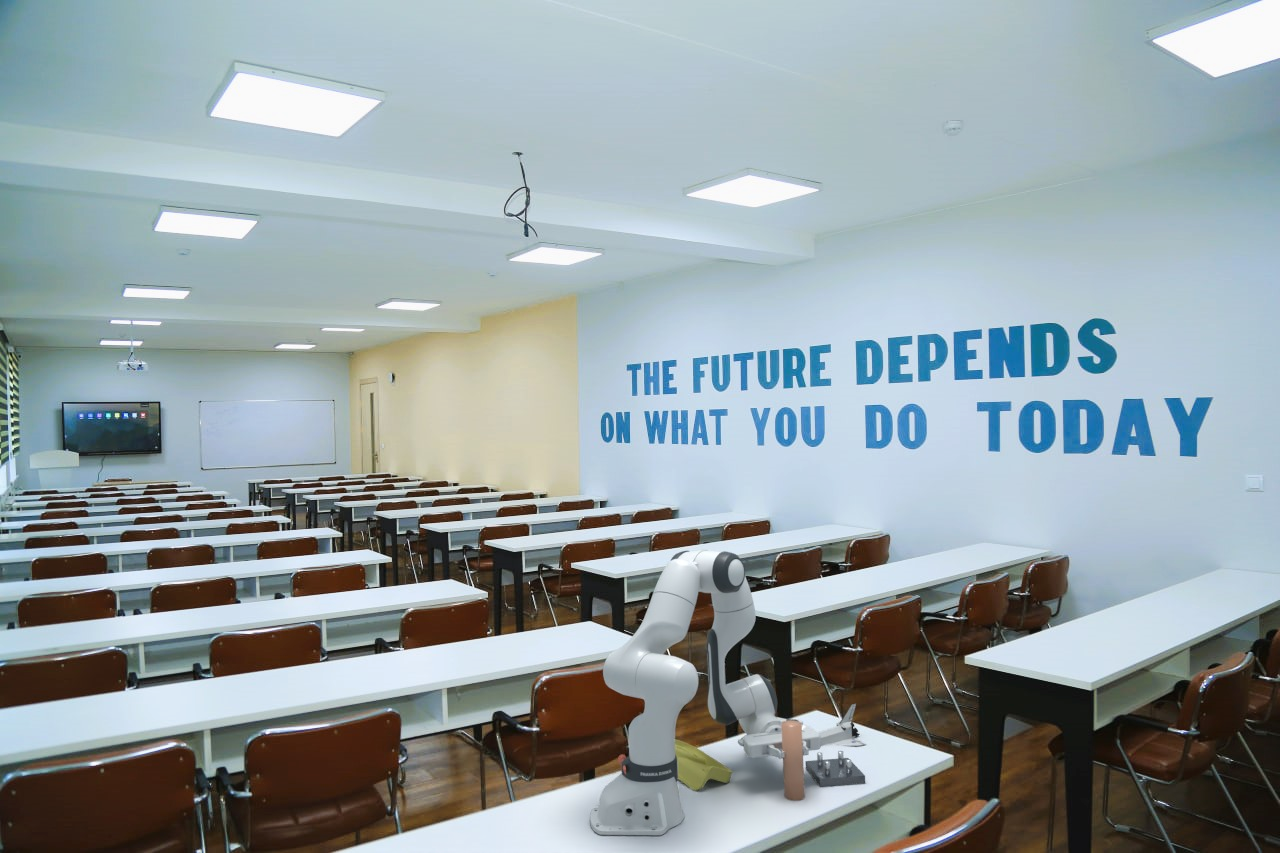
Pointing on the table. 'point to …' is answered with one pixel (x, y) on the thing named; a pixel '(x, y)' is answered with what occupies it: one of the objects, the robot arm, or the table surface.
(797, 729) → the canister
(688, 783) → the plastic component
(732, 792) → the table surface
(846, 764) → the plate
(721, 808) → the table surface
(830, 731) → the space shuttle model
